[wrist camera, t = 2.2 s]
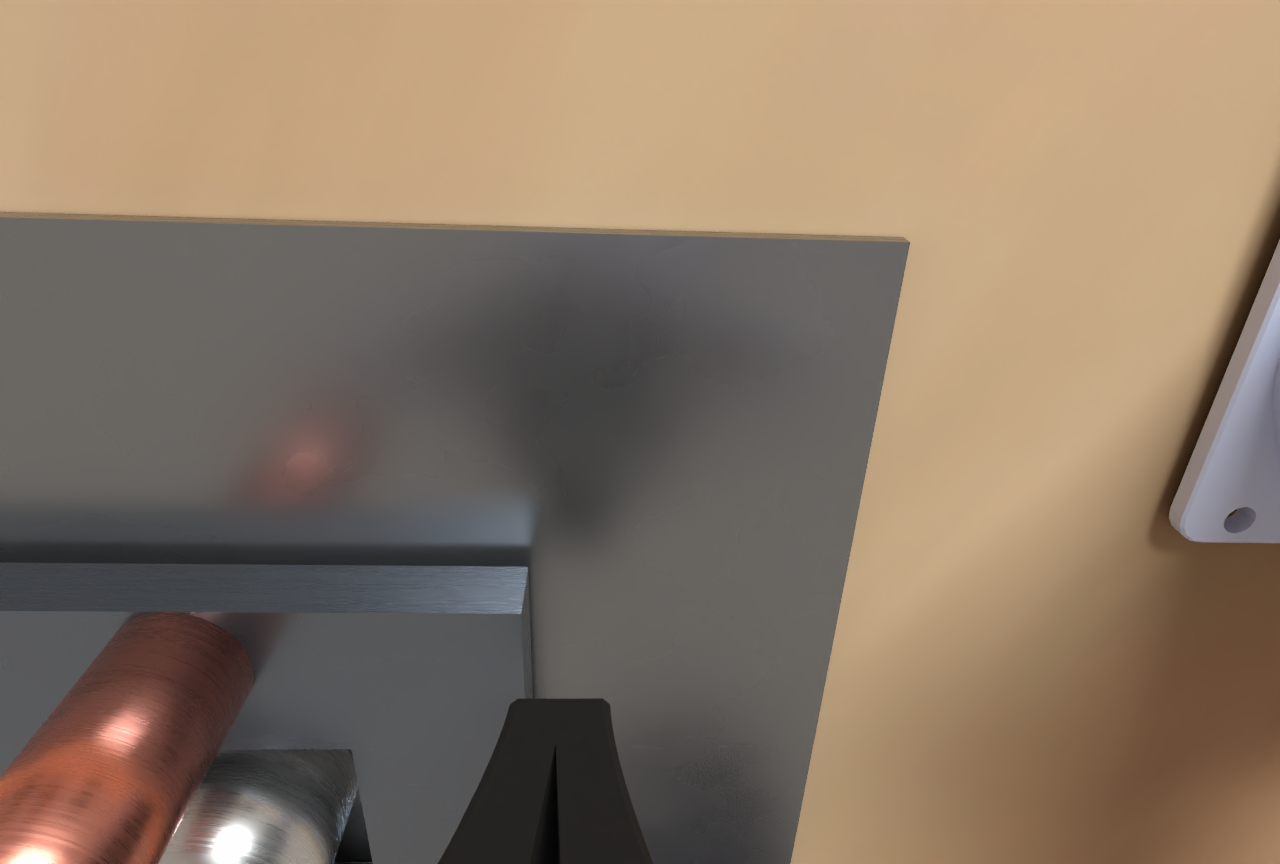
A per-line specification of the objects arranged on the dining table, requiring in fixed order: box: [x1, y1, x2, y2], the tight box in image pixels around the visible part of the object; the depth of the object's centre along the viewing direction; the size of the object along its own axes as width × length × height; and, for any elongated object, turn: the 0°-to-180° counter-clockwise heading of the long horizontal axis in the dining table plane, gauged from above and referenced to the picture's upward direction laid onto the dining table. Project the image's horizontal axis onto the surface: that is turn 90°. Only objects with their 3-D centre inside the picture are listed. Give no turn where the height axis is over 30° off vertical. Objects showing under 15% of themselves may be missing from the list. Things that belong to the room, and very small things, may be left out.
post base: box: [0, 212, 910, 864], centre depth 15 cm, size 22×22×3 cm
